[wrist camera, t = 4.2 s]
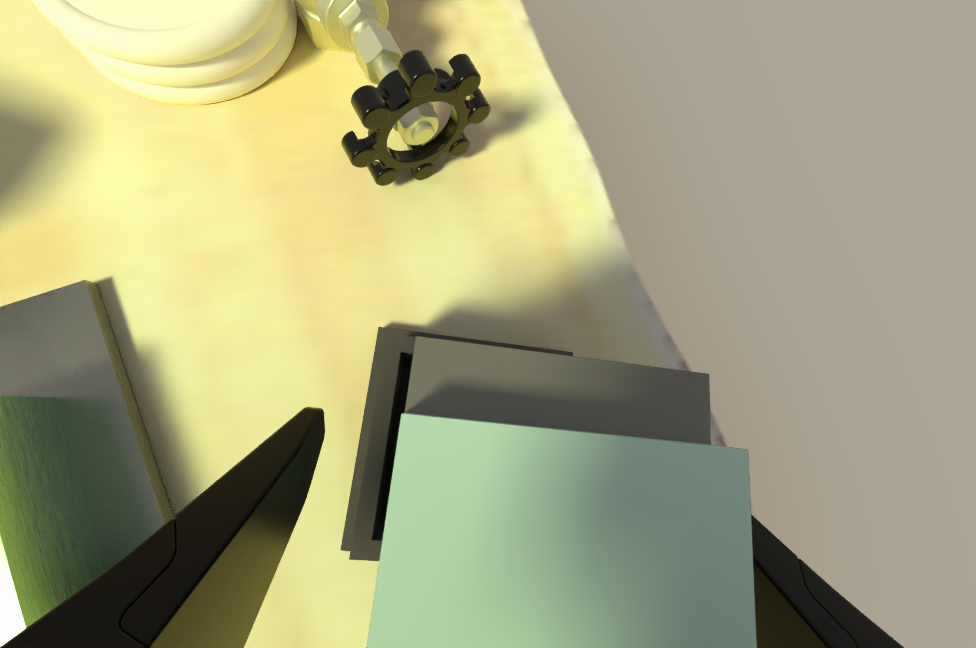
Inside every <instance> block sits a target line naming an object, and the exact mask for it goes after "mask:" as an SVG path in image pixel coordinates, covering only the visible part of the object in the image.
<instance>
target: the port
mask: <svg viewBox="0 0 976 648" xmlns="http://www.w3.org/2000/svg"><path fill="white" fill-rule="evenodd" d="M171 518H174V516H173V513H172V510H171V507H170V504H169V501H168V498H167V495H166V492H165V489H164V486H163V483H162V480H161V477H160V474H159V471H158V468H157V465H156V462H155V459H154V456H153V453H152V449H151V446H150V443H149V440H148V437H147V434H146V431H145V428H144V425H143V422H142V419H141V416H140V413H139V410H138V407H137V404H136V401H135V398H134V395H133V392H132V389H131V386H130V383H129V380H128V377H127V374H126V371H125V368H124V365H123V362H122V359H121V356H120V353H119V350H118V346H117V343H116V340H115V337H114V334H113V331H112V328H111V325H110V322H109V319H108V316H107V313H106V310H105V307H104V304H103V301H102V298H101V295H100V292H99V289H98V286H97V284H94V283H92V282H89V281H86V280H84V281H80V282H77V283H74V284H71V285H68V286H65V287H62V288H58V289H55V290H52V291H49V292H46V293H43V294H40V295H36V296H33V297H30V298H27V299H24V300H21V301H18V302H14V303H11V304H8V305H5V306H2V307H0V646H2V645H3V644H4V643H6V642H7V641H9V640H10V639H11V638H13V637H14V636H16V635H17V634H18V633H20V632H21V631H23V630H24V629H25V628H27V627H28V626H30V625H31V624H32V623H34V622H35V621H37V620H38V619H39V618H41V617H42V616H43V615H45V614H46V613H48V612H49V611H50V610H52V609H53V608H55V607H56V606H57V605H59V604H60V603H62V602H63V601H64V600H66V599H67V598H69V597H70V596H71V595H73V594H74V593H75V592H77V591H78V590H80V589H81V588H82V587H84V586H85V585H87V584H88V583H89V582H91V581H92V580H93V579H95V578H96V577H98V576H99V575H100V574H102V573H103V572H104V571H106V570H107V569H108V568H110V567H111V566H112V565H114V564H115V563H116V562H118V561H119V560H120V559H122V558H123V557H124V556H126V555H127V554H128V553H130V552H131V551H132V550H133V549H134V548H136V547H137V546H138V545H139V544H141V543H142V542H143V541H144V540H146V539H147V538H148V537H149V536H151V535H152V534H153V533H154V532H156V531H157V530H158V529H159V528H160V527H162V526H163V525H164V524H165V523H167V522H168V521H169V520H170V519H171Z"/></svg>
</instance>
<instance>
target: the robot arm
mask: <svg viewBox="0 0 976 648" xmlns="http://www.w3.org/2000/svg"><path fill="white" fill-rule="evenodd" d="M324 435H325V423H324V411H323V409H321V408H313V407H306V408H304V409H302V410H301V411H300V412H299V413H298V414H296V415H295V416H294V417H293V418H292V419H290V420H289V421H288V422H287V423H286V424H284V425H283V426H282V427H281V428H280V429H278V430H277V431H276V432H275V433H274V434H272V435H271V436H270V437H269V438H268V439H266V440H265V441H264V442H263V443H262V444H260V445H259V446H258V447H257V448H256V449H254V450H253V451H252V452H251V453H250V454H248V455H247V456H246V457H245V458H244V459H242V460H241V461H240V462H239V463H238V464H236V465H235V466H234V467H233V468H232V469H230V470H229V471H228V472H227V473H226V474H224V475H223V476H222V477H221V478H220V479H218V480H217V481H216V482H215V483H214V484H212V485H211V486H210V487H209V488H208V489H206V490H205V491H204V492H203V493H202V494H200V495H199V496H198V497H197V498H196V499H194V500H193V501H192V502H191V503H190V504H188V505H187V506H186V507H185V508H184V509H182V510H181V511H180V512H179V513H178V514H176V516H175V518H171V519H170V520H169V521H168V522H167V523H165V524H164V525H163V526H162V527H160V528H159V529H158V530H157V531H156V532H154V533H153V534H152V535H151V536H149V537H148V538H147V539H146V540H144V541H143V542H142V543H141V544H139V545H138V546H137V547H136V548H134V549H133V550H132V551H131V552H130V553H128V554H127V555H126V556H124V557H123V558H122V559H120V560H119V561H118V562H116V563H115V564H114V565H112V566H111V567H110V568H108V569H107V570H106V571H104V572H103V573H102V574H100V575H99V576H98V577H96V578H95V579H93V580H92V581H91V582H89V583H88V584H87V585H85V586H84V587H82V588H81V589H80V590H78V591H77V592H75V593H74V594H73V595H71V596H70V597H69V598H67V599H66V600H64V601H63V602H62V603H60V604H59V605H57V606H56V607H55V608H53V609H52V610H50V611H49V612H48V613H46V614H45V615H43V616H42V617H41V618H39V619H38V620H37V621H35V622H34V623H32V624H31V625H30V626H28V627H27V628H25V629H24V630H23V631H21V632H20V633H18V634H17V635H16V636H14V637H13V638H11V639H10V640H9V641H7V642H6V643H4V644H3V645H2V646H0V648H244V646H245V643H246V641H247V639H248V636H249V634H250V632H251V629H252V627H253V624H254V622H255V620H256V617H257V615H258V613H259V610H260V608H261V605H262V603H263V601H264V598H265V596H266V594H267V591H268V589H269V586H270V584H271V582H272V579H273V577H274V575H275V572H276V570H277V567H278V565H279V563H280V560H281V558H282V556H283V553H284V551H285V548H286V546H287V544H288V541H289V539H290V537H291V534H292V532H293V529H294V527H295V525H296V522H297V520H298V518H299V515H300V513H301V510H302V508H303V505H304V503H305V500H306V498H307V494H308V491H309V488H310V485H311V481H312V478H313V474H314V471H315V468H316V464H317V461H318V457H319V454H320V450H321V447H322V444H323V440H324ZM751 525H752V549H753V573H754V597H755V621H756V644H757V648H904V647H903V646H901V645H900V644H899V643H898V642H896V641H895V640H894V639H893V638H892V637H890V636H889V635H888V634H887V633H886V632H884V631H883V630H882V629H881V628H880V627H878V626H877V625H876V624H875V623H873V622H872V621H871V620H870V619H869V618H867V617H866V616H865V615H864V614H863V613H861V612H860V611H859V610H858V609H857V608H855V607H854V606H853V605H852V604H851V603H850V602H848V601H847V600H846V599H845V598H844V597H842V596H841V595H840V594H839V593H838V592H836V591H835V590H834V589H833V588H832V587H831V586H830V585H829V584H827V583H826V582H825V581H824V580H823V579H822V578H821V577H820V576H818V575H817V574H816V573H815V572H814V571H813V570H812V569H810V567H808V566H807V565H806V564H805V563H804V562H803V561H802V560H801V559H798V558H797V556H796V555H795V554H794V553H793V552H792V551H791V550H790V549H788V548H787V547H786V546H785V545H784V544H783V543H782V542H781V541H780V540H779V539H777V538H776V537H775V536H774V535H773V534H772V533H771V532H770V531H769V530H768V529H767V528H765V527H764V526H763V525H762V524H761V523H760V522H759V521H758V520H757V519H756V518H754V517H753V516H752V515H751Z"/></svg>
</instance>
